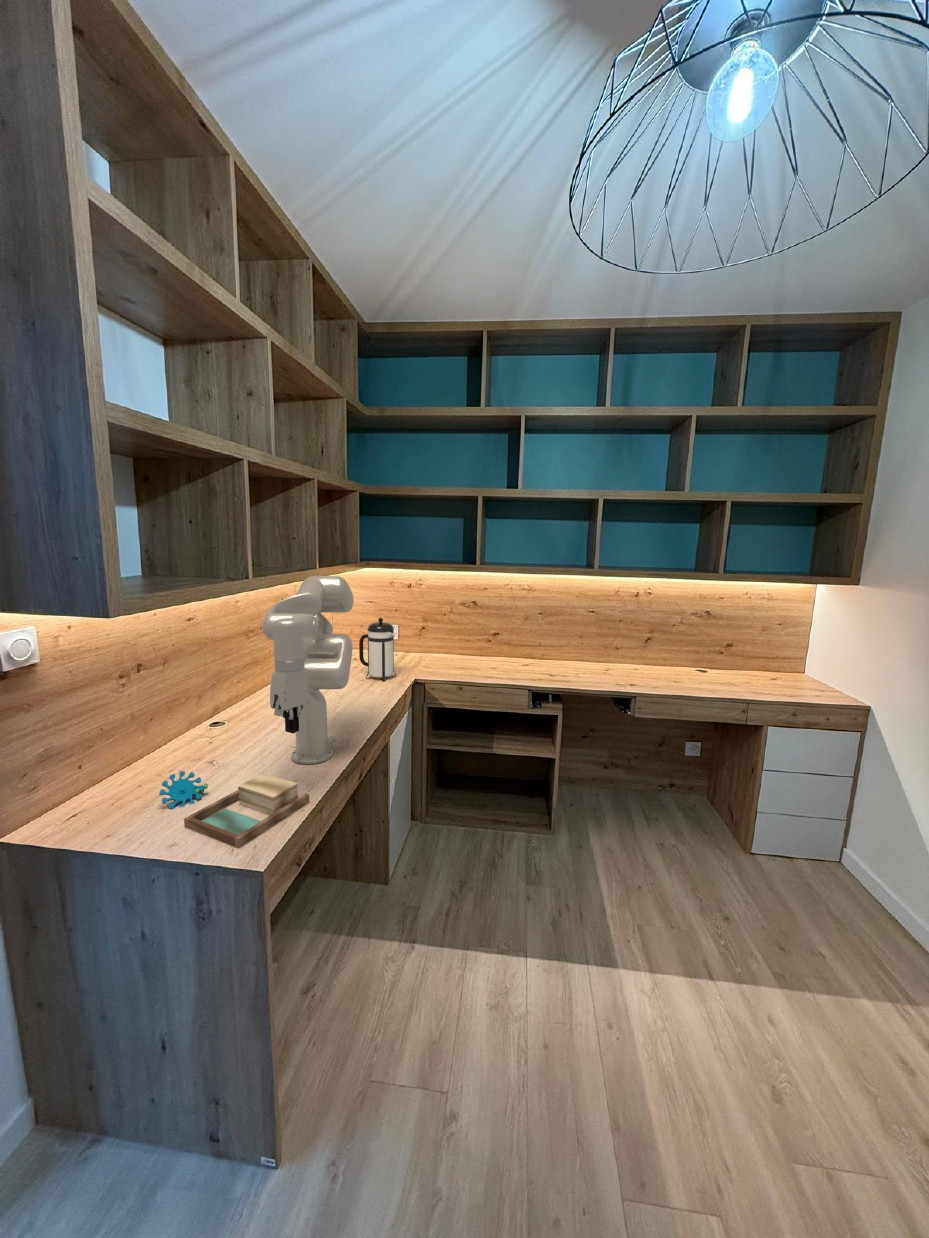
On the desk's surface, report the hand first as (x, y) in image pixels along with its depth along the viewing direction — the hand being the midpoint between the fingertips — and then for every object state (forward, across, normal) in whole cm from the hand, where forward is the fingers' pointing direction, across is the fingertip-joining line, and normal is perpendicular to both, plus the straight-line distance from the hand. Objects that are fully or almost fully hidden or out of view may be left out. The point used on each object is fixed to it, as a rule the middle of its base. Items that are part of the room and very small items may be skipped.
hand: (292, 731), depth 135 cm
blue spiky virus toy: (+17, +18, -20) cm, 32 cm away
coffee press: (+17, -103, -45) cm, 114 cm away
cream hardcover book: (+16, +9, 0) cm, 19 cm away
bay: (+17, +15, 0) cm, 23 cm away
